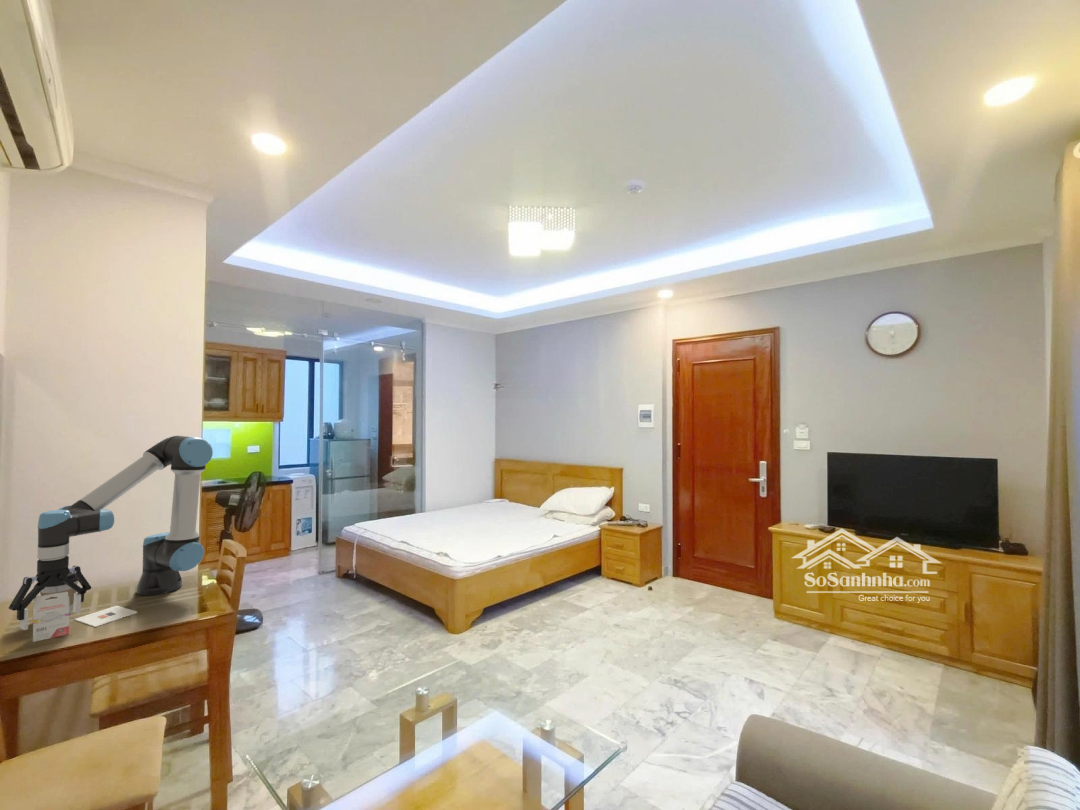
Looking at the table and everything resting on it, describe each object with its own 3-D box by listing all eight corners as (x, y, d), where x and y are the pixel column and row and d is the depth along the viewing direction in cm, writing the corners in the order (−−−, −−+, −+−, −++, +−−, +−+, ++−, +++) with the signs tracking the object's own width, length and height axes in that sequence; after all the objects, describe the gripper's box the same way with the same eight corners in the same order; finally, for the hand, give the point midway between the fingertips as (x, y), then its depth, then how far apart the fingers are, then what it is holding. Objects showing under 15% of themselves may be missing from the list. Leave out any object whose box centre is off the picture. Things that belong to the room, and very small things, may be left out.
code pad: (117, 606, 187) (117, 605, 187) (137, 612, 182) (137, 611, 182) (74, 619, 175) (74, 618, 175) (95, 627, 170) (95, 626, 170)
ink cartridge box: (69, 629, 168) (70, 586, 168) (68, 634, 164) (69, 591, 164) (33, 636, 162) (35, 592, 162) (31, 642, 159) (33, 597, 159)
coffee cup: (31, 624, 170) (32, 581, 170) (42, 612, 180) (43, 571, 180) (75, 617, 176) (76, 576, 176) (83, 606, 186) (84, 567, 186)
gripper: (92, 546, 176) (90, 604, 176) (-5, 566, 153) (-7, 634, 153) (104, 549, 173) (103, 608, 173) (7, 570, 150) (5, 639, 150)
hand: (51, 620), depth 163 cm, fingers open, 13 cm apart
